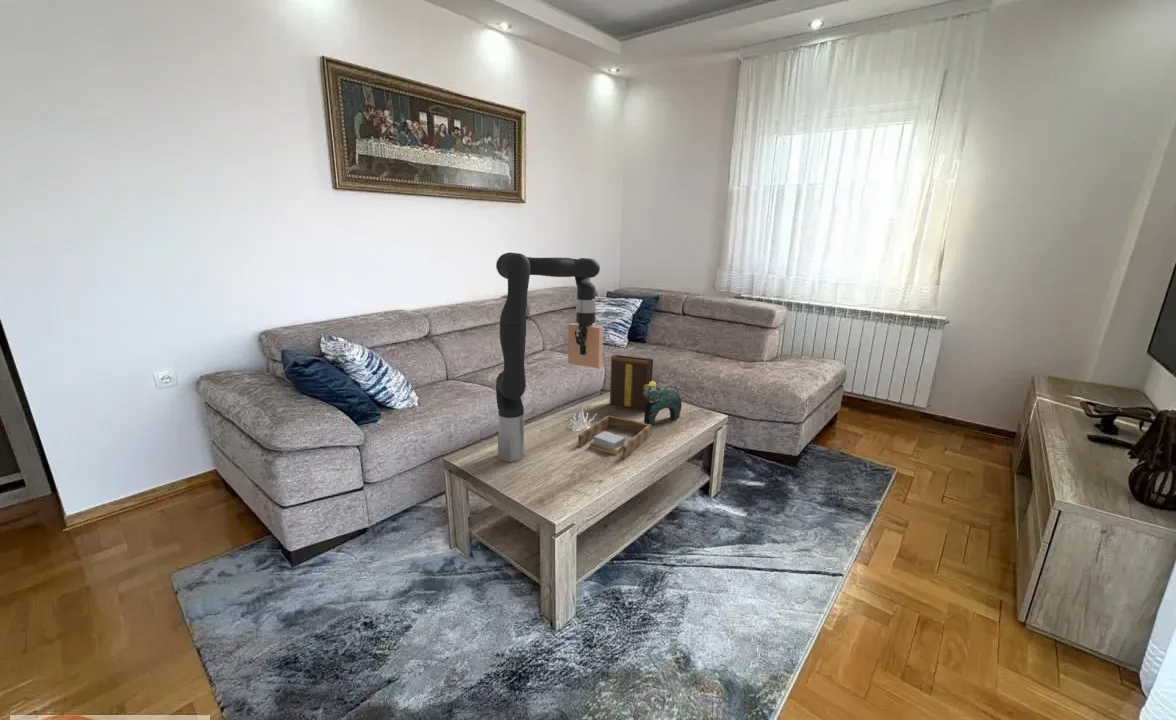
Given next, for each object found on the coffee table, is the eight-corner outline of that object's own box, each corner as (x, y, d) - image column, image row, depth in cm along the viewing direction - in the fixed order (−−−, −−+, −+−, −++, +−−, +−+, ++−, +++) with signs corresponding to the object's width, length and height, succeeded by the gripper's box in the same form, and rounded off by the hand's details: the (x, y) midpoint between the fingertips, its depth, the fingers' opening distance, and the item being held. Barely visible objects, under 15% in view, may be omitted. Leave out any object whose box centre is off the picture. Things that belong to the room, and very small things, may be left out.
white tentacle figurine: (565, 427, 213) (565, 407, 211) (587, 421, 220) (587, 401, 218) (576, 434, 206) (577, 413, 204) (599, 427, 213) (600, 407, 211)
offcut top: (614, 449, 188) (614, 443, 187) (593, 442, 194) (593, 436, 193) (624, 443, 193) (624, 437, 192) (604, 436, 199) (604, 431, 198)
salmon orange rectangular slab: (598, 368, 192) (599, 328, 188) (568, 363, 199) (568, 324, 195) (602, 366, 195) (603, 326, 191) (571, 361, 201) (572, 323, 197)
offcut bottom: (617, 456, 187) (617, 450, 187) (589, 449, 193) (590, 443, 193) (627, 448, 195) (627, 442, 194) (601, 441, 201) (601, 435, 200)
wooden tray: (625, 459, 184) (625, 446, 182) (578, 446, 193) (578, 435, 192) (651, 435, 205) (651, 424, 204) (607, 426, 215) (607, 415, 213)
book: (607, 408, 237) (609, 357, 230) (613, 402, 244) (615, 353, 238) (652, 415, 229) (655, 363, 222) (656, 409, 236) (659, 358, 230)
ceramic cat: (646, 428, 213) (649, 384, 208) (638, 423, 218) (640, 380, 213) (682, 420, 222) (685, 378, 217) (673, 416, 228) (676, 374, 223)
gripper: (585, 314, 183) (584, 358, 188) (602, 309, 195) (601, 351, 200) (568, 312, 187) (567, 356, 191) (586, 307, 199) (585, 349, 203)
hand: (585, 353), depth 196 cm, fingers closed on salmon orange rectangular slab, 3 cm apart
